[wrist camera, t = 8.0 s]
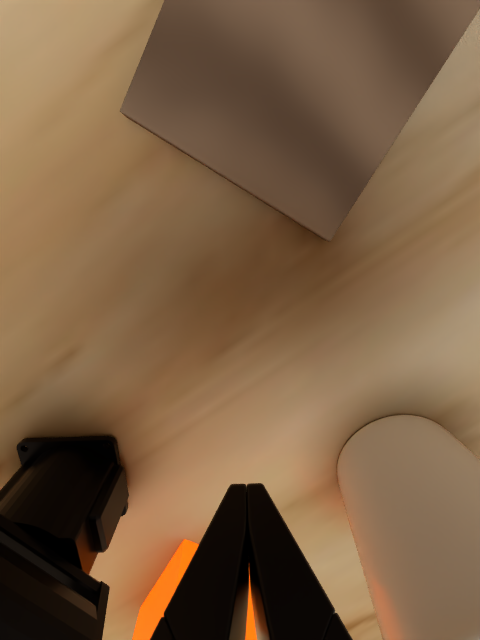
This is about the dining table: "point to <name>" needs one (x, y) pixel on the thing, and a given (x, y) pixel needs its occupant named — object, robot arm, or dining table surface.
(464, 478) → the white cup
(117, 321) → the dining table surface
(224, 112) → the switch base
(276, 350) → the dining table surface
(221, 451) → the dining table surface
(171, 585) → the orange juice
